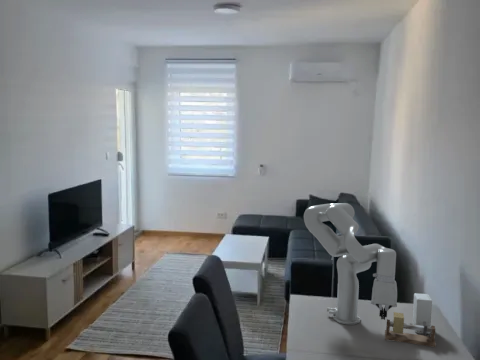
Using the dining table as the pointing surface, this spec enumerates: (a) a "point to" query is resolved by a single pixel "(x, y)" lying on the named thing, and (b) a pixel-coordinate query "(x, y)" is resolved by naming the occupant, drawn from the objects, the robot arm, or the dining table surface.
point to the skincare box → (422, 310)
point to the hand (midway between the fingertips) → (382, 318)
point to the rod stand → (412, 337)
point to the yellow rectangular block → (398, 322)
